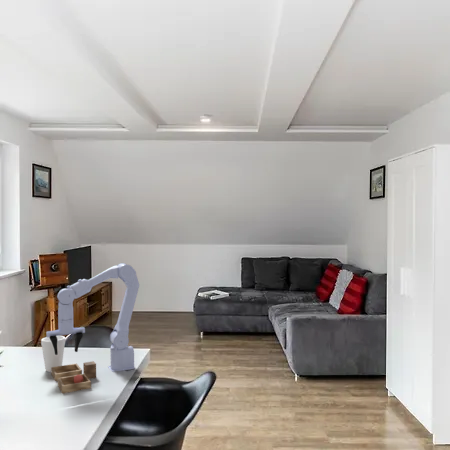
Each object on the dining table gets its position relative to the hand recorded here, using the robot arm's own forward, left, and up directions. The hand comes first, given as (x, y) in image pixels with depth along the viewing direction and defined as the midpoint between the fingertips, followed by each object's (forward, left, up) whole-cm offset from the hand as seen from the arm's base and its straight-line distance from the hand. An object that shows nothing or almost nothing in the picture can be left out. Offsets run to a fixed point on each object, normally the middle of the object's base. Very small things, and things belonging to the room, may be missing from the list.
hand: (66, 352), depth 181 cm
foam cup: (+3, -12, -10) cm, 16 cm away
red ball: (-2, +13, -9) cm, 16 cm away
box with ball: (0, +15, -9) cm, 18 cm away
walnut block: (-8, +7, -10) cm, 14 cm away
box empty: (0, 0, -9) cm, 9 cm away
